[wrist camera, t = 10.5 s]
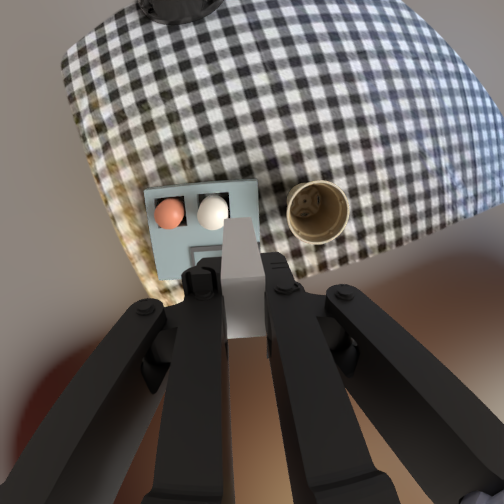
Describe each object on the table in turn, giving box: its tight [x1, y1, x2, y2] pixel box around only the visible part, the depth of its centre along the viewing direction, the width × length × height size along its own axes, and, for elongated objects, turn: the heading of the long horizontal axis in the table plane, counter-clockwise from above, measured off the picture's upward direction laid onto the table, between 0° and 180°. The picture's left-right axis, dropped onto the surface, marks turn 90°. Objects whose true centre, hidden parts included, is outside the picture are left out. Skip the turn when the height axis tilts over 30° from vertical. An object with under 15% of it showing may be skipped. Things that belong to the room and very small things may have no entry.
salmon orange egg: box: [154, 196, 186, 229], centre depth 42 cm, size 4×4×4 cm
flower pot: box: [287, 180, 349, 244], centre depth 42 cm, size 9×9×9 cm
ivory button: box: [197, 195, 228, 230], centre depth 41 cm, size 4×4×4 cm
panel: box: [144, 179, 260, 280], centre depth 45 cm, size 16×18×3 cm
